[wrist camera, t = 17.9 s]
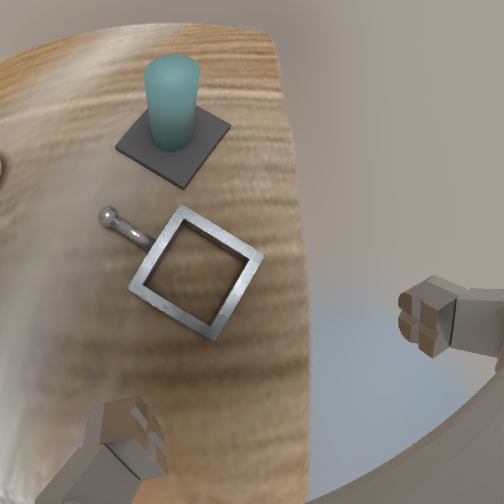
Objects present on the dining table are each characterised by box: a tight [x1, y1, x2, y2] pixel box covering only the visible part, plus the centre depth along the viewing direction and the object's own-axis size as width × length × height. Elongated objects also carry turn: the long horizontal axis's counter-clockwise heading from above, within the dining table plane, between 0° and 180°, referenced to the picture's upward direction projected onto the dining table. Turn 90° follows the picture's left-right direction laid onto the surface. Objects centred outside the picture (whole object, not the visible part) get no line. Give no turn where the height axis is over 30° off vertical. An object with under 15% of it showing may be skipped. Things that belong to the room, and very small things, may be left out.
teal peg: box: [144, 54, 200, 152], centre depth 25 cm, size 4×4×10 cm
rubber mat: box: [115, 106, 231, 190], centre depth 30 cm, size 9×9×1 cm
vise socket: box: [98, 204, 265, 342], centre depth 27 cm, size 16×9×2 cm, turn 60°
